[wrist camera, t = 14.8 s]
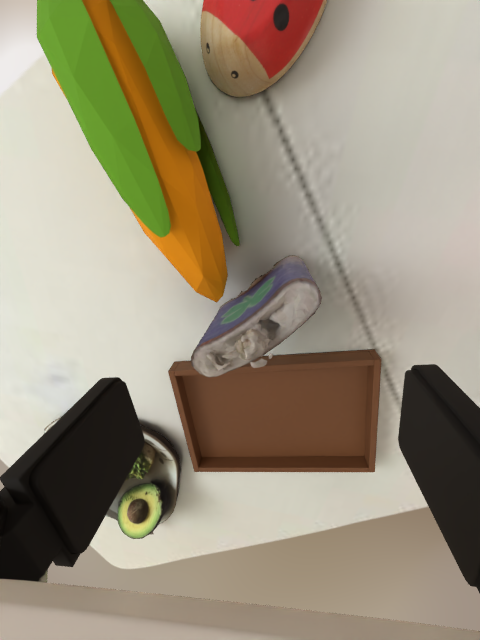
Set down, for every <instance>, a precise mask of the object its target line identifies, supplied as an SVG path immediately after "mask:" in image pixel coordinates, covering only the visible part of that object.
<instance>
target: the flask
mask: <svg viewBox="0 0 480 640" xmlns="http://www.w3.org/2000/svg"><path fill="white" fill-rule="evenodd" d="M250 285H251V286H250V287H249V289H248V290H247V291H245V292H243V291H241V293H240V295H239V296H238V297H237V298H234V299H231V300H230V301H228V302H226V303H225V304H224V305H222V306H221V307H220V309H219V311H218V313H217V315H216V316H215V318H214V320H213V321H212V323H211V324H210V326H209V328H208V330H207V331H206V333H205V334H204V336H203V337H202V339H201V340H200V342H199V344H198V345H197V347H196V349H195V350H194V352H193V354H192V357H191V365H192V366H193V367H194V368H195V369H196V370H197V371H198V372H199V373H200V374H202V375H204V376H206V377H217V376H220V375H222V374H225V373H227V372H229V371H232V370H235V369H237V368H239V367H241V366H243V365H246V364H248V363H251V366H252V367H253V368H259V367H263V366H265V365H266V364H267V360H264V359H261V360H258V361H256V362H252V361H254V360H256V359H257V358H259V357H262V356H263V355H265V354H266V353H267V352H268V351H270V350H272V349H273V348H275V347H276V346H277V345H279V344H280V343H281V342H282V341H284V340H285V339H286V338H287V337H289V336H290V335H291V334H292V333H294V332H295V331H296V330H297V329H298V328H299V327H301V326H302V325H303V324H304V323H305V322H306V321H307V320H308V319H309V318H310V317H311V316H312V315H313V314H315V311H316V310H317V309H318V307H319V306H320V304H321V299H322V297H321V294H320V290H319V288H318V286H317V285H316V283H315V281H314V280H313V278H312V276H311V275H310V273H309V271H308V269H307V267H306V265H305V263H304V261H303V260H302V259H301V258H300V257H297V256H288V257H285V258H284V259H282V260H281V261H279V262H277V263H276V264H275V265H274V267H273V269H272V270H270V271H269V272H267V274H264V275H263V276H262V275H261V276H260V277H259V278H257V279H255V281H254V282H252V284H250ZM272 356H273V354H269V359H271V358H272Z"/></svg>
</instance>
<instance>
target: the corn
mask: <svg viewBox="0 0 480 640" xmlns="http://www.w3.org/2000/svg"><path fill="white" fill-rule="evenodd" d="M37 38H38V40H39V42H40V44H41V47H42V49H43V51H44V53H45V55H46V57H47V59H48V61H49V63H50V65H51V67H52V74H53V76H54V78H55V79H56V81H57V83H58V84H59V86H60V88H61V90H62V91H63V93H64V95H65V97H66V98H67V100H68V102H69V104H70V106H71V108H72V110H73V112H74V114H75V116H76V118H77V120H78V122H79V125H80V127H81V129H82V131H83V133H84V135H85V137H86V139H87V141H88V143H89V145H90V147H91V149H92V151H93V152H94V154H95V156H96V157H97V159H98V160H99V162H100V163H101V165H102V167H103V168H104V170H105V171H106V173H107V175H108V176H109V178H110V179H111V181H112V183H113V184H114V186H115V187H116V189H117V191H118V192H119V194H120V195H121V197H122V198H123V200H124V201H125V202H126V203H127V204H128V206H129V207H130V209H131V210H132V212H133V214H134V216H135V217H136V219H137V221H138V222H139V224H140V226H141V228H142V229H143V231H144V233H145V234H146V235H147V236H148V237H149V238H150V239H151V241H152V242H153V243H154V244H155V245H156V246H157V247H158V249H159V250H160V251H161V252H162V253H163V254H164V255H165V257H166V258H167V259H168V260H169V261H170V262H171V263H172V265H173V266H174V267H175V268H176V269H177V270H178V272H179V273H180V274H181V275H182V276H183V277H184V278H185V280H186V281H187V282H188V283H189V284H190V285H191V287H192V288H193V289H194V290H195V291H196V292H197V293H199V294H201V295H203V296H205V297H207V298H209V299H211V300H213V301H215V302H218V301H219V299H220V298H221V297H222V296H223V293H224V289H225V285H226V281H227V276H228V274H227V266H226V259H225V252H224V245H223V238H222V233H221V230H220V226H219V223H218V219H217V216H216V212H215V209H214V206H213V202H212V199H211V196H212V198H213V200H214V202H215V205H216V207H217V209H218V211H219V214H220V216H221V219H222V221H223V223H224V226H225V228H226V231H227V233H228V235H229V237H230V239H231V241H232V242H233V243H234V244H235V245H236V246H239V245H240V243H239V237H238V232H237V226H236V222H235V218H234V213H233V209H232V205H231V200H230V197H229V194H228V191H227V188H226V185H225V183H224V180H223V177H222V174H221V172H220V169H219V166H218V163H217V160H216V158H215V155H214V152H213V149H212V146H211V144H210V141H209V139H208V137H207V135H206V132H205V130H204V128H203V125H202V123H201V121H200V118H199V116H198V114H197V112H196V109H195V107H194V104H193V100H192V97H191V94H190V90H189V87H188V84H187V80H186V77H185V75H184V73H183V71H182V69H181V66H180V64H179V62H178V60H177V58H176V55H175V53H174V51H173V49H172V47H171V45H170V42H169V40H168V38H167V36H166V34H165V32H164V29H163V27H162V25H161V23H160V21H159V19H158V18H157V17H156V16H155V15H154V13H153V12H152V11H151V10H150V9H149V7H148V6H147V5H146V4H145V2H144V1H143V0H37ZM209 191H210V192H209ZM210 194H211V195H210Z"/></svg>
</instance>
